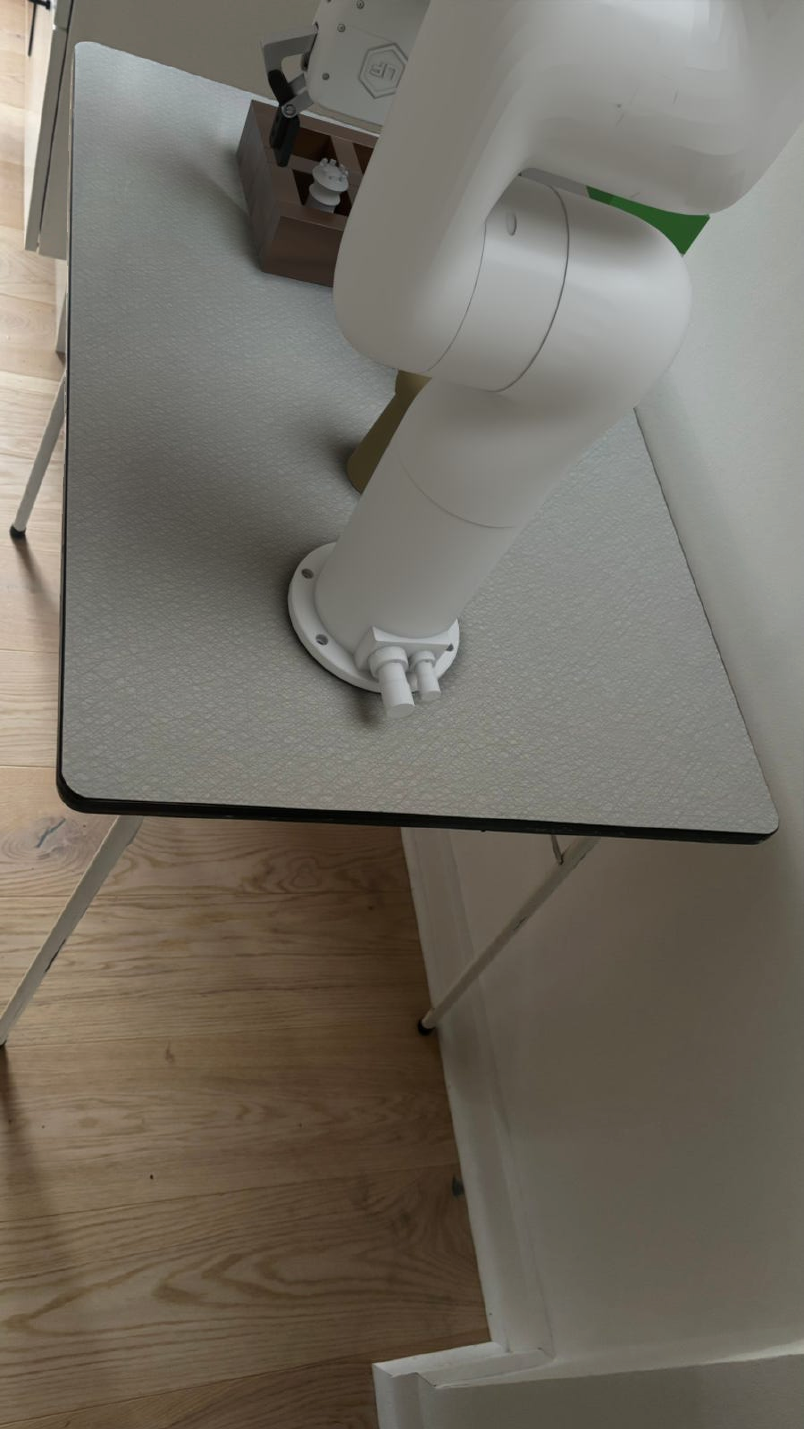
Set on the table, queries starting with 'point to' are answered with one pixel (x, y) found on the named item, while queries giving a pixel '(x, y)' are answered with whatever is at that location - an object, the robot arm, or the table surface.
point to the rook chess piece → (327, 186)
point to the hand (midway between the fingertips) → (332, 172)
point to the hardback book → (632, 209)
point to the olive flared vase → (383, 429)
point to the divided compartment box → (298, 193)
